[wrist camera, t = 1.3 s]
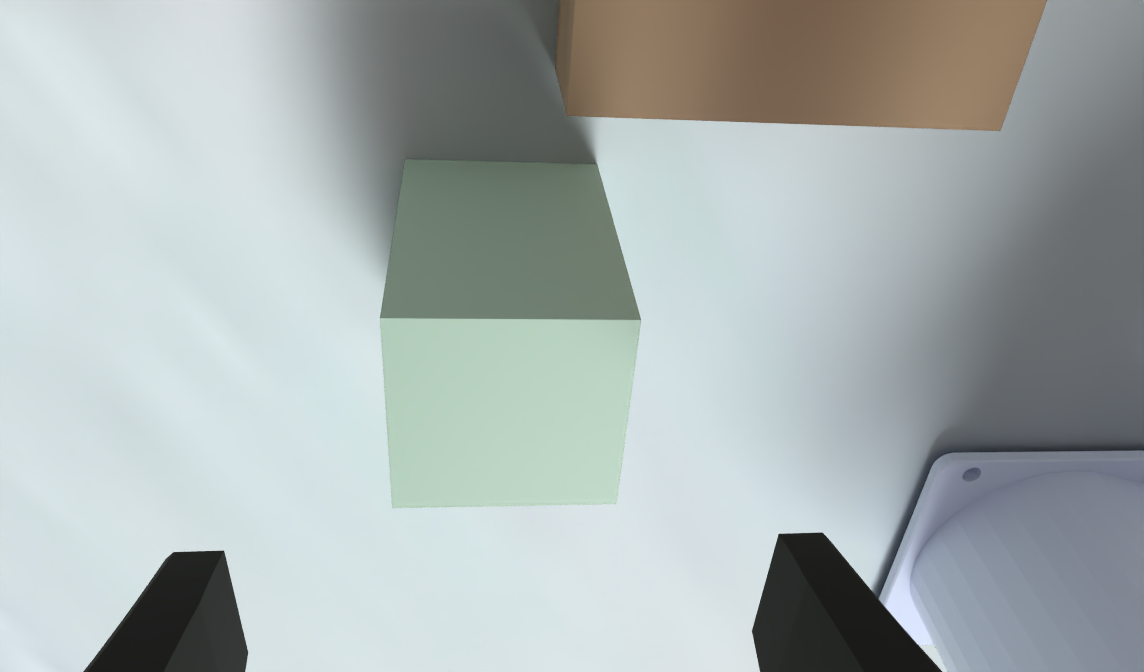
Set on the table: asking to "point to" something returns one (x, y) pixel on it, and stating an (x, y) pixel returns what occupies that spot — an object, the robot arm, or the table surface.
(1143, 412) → the table surface
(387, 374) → the green block
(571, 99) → the walnut plinth
